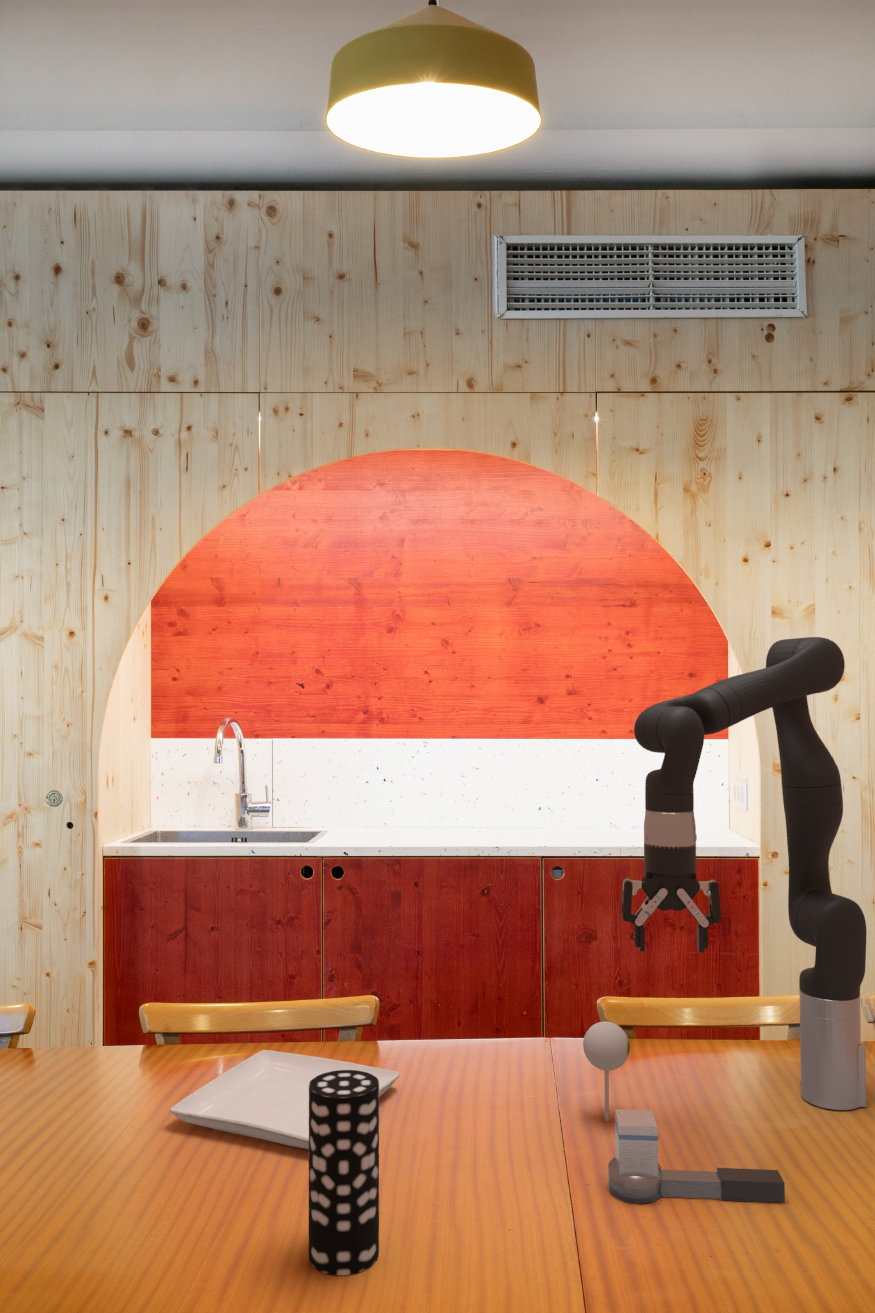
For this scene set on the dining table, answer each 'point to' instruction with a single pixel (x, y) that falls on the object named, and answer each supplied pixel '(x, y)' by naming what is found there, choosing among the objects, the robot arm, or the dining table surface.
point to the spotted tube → (343, 1172)
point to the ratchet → (699, 1185)
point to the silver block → (636, 1143)
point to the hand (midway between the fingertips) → (670, 951)
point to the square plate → (266, 1096)
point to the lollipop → (606, 1051)
